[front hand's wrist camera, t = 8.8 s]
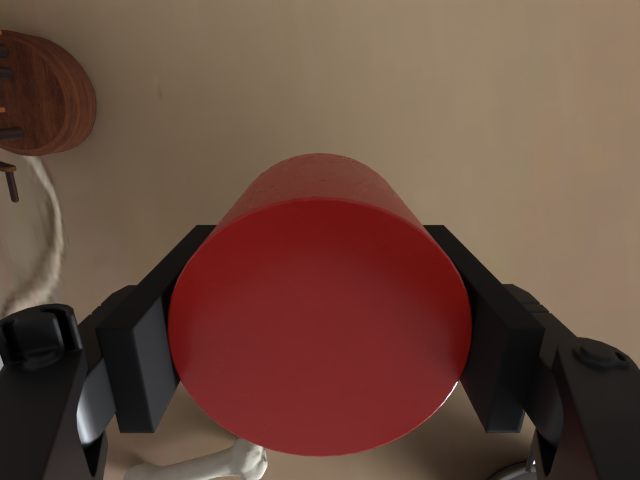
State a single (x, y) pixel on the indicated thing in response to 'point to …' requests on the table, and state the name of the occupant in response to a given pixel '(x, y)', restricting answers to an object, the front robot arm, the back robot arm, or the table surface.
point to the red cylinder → (319, 313)
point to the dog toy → (209, 465)
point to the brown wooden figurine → (41, 99)
